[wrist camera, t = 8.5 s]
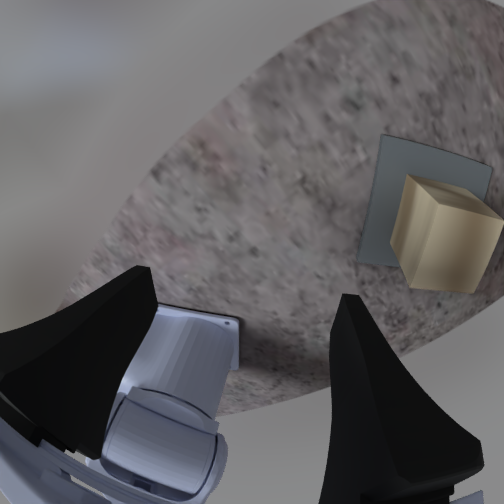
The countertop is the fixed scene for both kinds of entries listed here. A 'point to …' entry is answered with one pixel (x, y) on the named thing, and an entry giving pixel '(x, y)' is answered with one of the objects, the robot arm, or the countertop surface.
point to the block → (443, 236)
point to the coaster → (392, 184)
